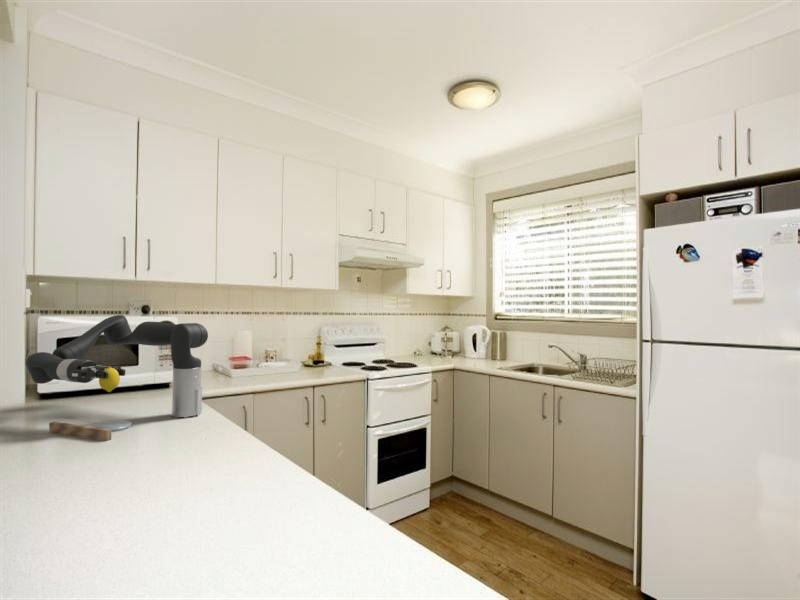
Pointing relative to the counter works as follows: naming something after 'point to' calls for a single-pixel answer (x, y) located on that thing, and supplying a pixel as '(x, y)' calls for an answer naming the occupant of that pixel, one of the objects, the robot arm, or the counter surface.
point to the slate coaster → (113, 425)
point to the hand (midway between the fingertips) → (115, 373)
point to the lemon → (110, 380)
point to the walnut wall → (80, 431)
